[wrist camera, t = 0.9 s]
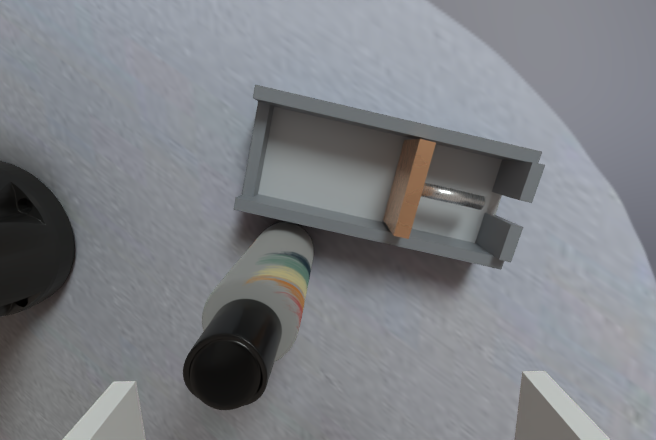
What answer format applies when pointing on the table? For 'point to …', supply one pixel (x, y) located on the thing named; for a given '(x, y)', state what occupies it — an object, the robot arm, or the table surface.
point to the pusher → (418, 188)
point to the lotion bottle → (251, 319)
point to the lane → (381, 177)
